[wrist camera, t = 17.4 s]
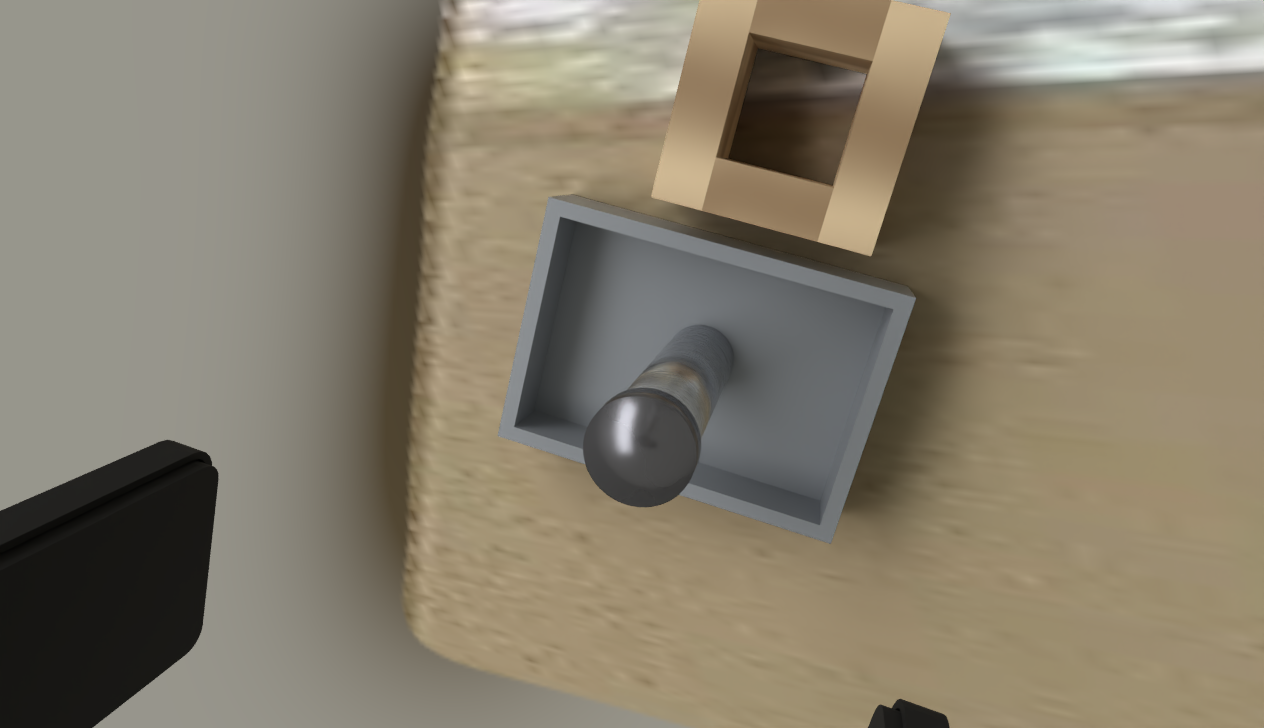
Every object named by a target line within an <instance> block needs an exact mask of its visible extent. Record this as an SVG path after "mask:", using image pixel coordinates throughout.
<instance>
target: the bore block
mask: <svg viewBox="0 0 1264 728" xmlns="http://www.w3.org/2000/svg"><path fill="white" fill-rule="evenodd" d="M950 14H951V13H947V12H942V11H938V10H933V9H929V8H924V7H920V6H915V5H911V4H906V3H902V2H897V1H893V0H699V5H698V9H697V13H696V17H695V21H694V25H693V29H692V33H691V37H690V41H689V45H688V49H687V53H686V57H685V61H684V65H683V69H682V73H681V77H680V81H679V85H678V90H677V94H676V98H675V102H674V106H673V110H672V114H671V118H670V122H669V126H668V130H667V134H666V138H665V142H664V146H663V150H662V154H661V158H660V162H659V166H658V170H657V175H656V179H655V183H654V187H653V191H652V195H651V197H653V198H656V199H660V200H664V201H668V202H671V203H675V204H679V205H682V206H686V207H690V208H694V209H697V210H701V211H705V212H708V213H712V214H716V215H720V216H723V217H727V218H731V219H734V220H738V221H742V222H746V223H749V224H753V225H757V226H760V227H764V228H768V229H772V230H775V231H779V232H783V233H786V234H790V235H794V236H798V237H801V238H805V239H809V240H812V241H816V242H820V243H824V244H827V245H831V246H835V247H839V248H842V249H846V250H850V251H853V252H857V253H861V254H865V255H868V256H872V253H873V250H874V247H875V244H876V241H877V237H878V234H879V231H880V228H881V225H882V222H883V219H884V216H885V213H886V210H887V207H888V204H889V201H890V198H891V195H892V192H893V189H894V186H895V182H896V179H897V176H898V173H899V170H900V167H901V164H902V161H903V158H904V155H905V152H906V149H907V146H908V143H909V140H910V137H911V134H912V130H913V127H914V124H915V121H916V118H917V115H918V112H919V109H920V106H921V103H922V100H923V97H924V94H925V91H926V88H927V85H928V82H929V79H930V75H931V72H932V69H933V66H934V63H935V60H936V57H937V54H938V51H939V48H940V45H941V42H942V39H943V36H944V33H945V30H946V27H947V23H948V20H949V17H950ZM758 48H759V49H763V50H767V51H772V52H776V53H780V54H784V55H789V56H793V57H797V58H801V59H806V60H810V61H814V62H818V63H822V64H827V65H831V66H835V67H839V68H844V69H848V70H852V71H856V72H861V73H865V74H867V75H866V79H865V82H864V85H863V88H862V92H861V95H860V98H859V101H858V105H857V108H856V111H855V114H854V118H853V121H852V124H851V128H850V131H849V134H848V137H847V141H846V144H845V147H844V150H843V154H842V157H841V160H840V163H839V167H838V170H837V173H836V176H835V180H834V183H833V185H830V184H826V183H822V182H818V181H814V180H810V179H806V178H802V177H799V176H795V175H791V174H787V173H783V172H779V171H775V170H771V169H768V168H764V167H760V166H756V165H752V164H748V163H744V162H740V161H737V160H733V159H729V154H730V150H731V147H732V143H733V139H734V135H735V132H736V128H737V124H738V121H739V117H740V113H741V109H742V106H743V102H744V98H745V95H746V91H747V87H748V83H749V80H750V76H751V72H752V69H753V65H754V61H755V57H756V54H757V50H758Z"/></svg>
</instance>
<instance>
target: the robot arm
mask: <svg viewBox="0 0 1264 728" xmlns="http://www.w3.org/2000/svg"><path fill="white" fill-rule="evenodd" d="M217 487H218V471H217V469H216V468H215V467H213V466H212V461H211V458H210V456H209V455H208V454H207V453H206V452H203V451H200V450H197V449H194V448H191V447H189V446H186V445H183V444H180V443H177V442H175V441H171V440H165V441H161V442H158V443H156V444H154V445H151V446H149V447H147V448H144V449H142V450H140V451H137V452H136V453H133V454H131V455H128V456H126V457H124V458H121V459H119V460H117V461H115V462H112V463H110V464H108V465H105V466H103V467H101V468H98V469H96V470H94V471H91V472H89V473H87V474H84V475H82V476H80V477H78V478H75V479H73V480H71V481H68V482H66V483H64V484H62V485H59V486H57V487H54V488H52V489H50V490H48V491H46V492H43V493H41V494H38V495H36V496H34V497H31V498H29V499H27V500H24V501H22V502H20V503H18V504H15V505H13V506H11V507H8V508H6V509H4V510H1V511H0V728H92V727H94V726H95V725H96V724H98V723H99V722H100V721H101V720H103V719H104V718H105V717H107V716H108V715H109V714H110V713H111V712H113V711H114V710H115V709H117V708H118V707H119V706H121V705H122V704H123V703H124V702H126V701H127V700H128V699H129V698H131V697H132V696H133V695H135V694H136V693H137V692H139V691H140V690H141V689H142V688H144V687H145V686H146V685H148V684H149V683H150V682H151V681H153V680H154V679H155V678H156V677H158V676H159V675H160V674H162V673H163V672H164V671H165V670H167V669H168V668H169V667H171V666H172V665H173V664H174V663H175V662H177V661H178V660H179V659H181V658H182V657H183V656H185V655H186V654H187V653H188V652H189V651H190V650H191V649H192V647H193V646H194V644H195V643H196V642H197V640H198V638H199V635H200V633H201V630H202V625H203V616H204V607H205V598H206V589H207V579H208V570H209V561H210V551H211V543H212V533H213V524H214V515H215V506H216V496H217ZM868 728H949V723H948V720H947V717H946V716H945V715H944V714H942V713H939V712H936V711H933V710H930V709H928V708H925V707H922V706H919V705H916V704H913V703H911V702H908V701H905V700H902V699H899V700H897V701H896V702H895V704H894V705H893V707H892V708H889V707H886V706H883V705H879V706H878V707H877V708H876V710H875V712H874V714H873V717H872V719H871V722H870V724H869V726H868Z"/></svg>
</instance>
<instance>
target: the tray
mask: <svg viewBox="0 0 1264 728" xmlns="http://www.w3.org/2000/svg"><path fill="white" fill-rule="evenodd" d="M915 300H916V297H915V296H914V294H913V293H912V291H911V290H910V289H909V287H908V286H905V285H902V284H898V283H894V282H891V281H887V280H883V279H880V278H876V277H872V276H869V275H865V274H861V273H858V272H854V271H850V270H847V269H843V268H839V267H836V266H832V265H828V264H825V263H821V262H817V261H814V260H810V259H806V258H803V257H799V256H796V255H792V254H788V253H785V252H781V251H777V250H774V249H770V248H766V247H763V246H759V245H755V244H752V243H748V242H744V241H741V240H737V239H733V238H730V237H726V236H722V235H719V234H715V233H711V232H708V231H704V230H700V229H697V228H693V227H689V226H686V225H682V224H678V223H675V222H671V221H667V220H664V219H660V218H656V217H653V216H649V215H645V214H642V213H638V212H634V211H631V210H627V209H623V208H620V207H616V206H613V205H609V204H605V203H602V202H598V201H594V200H591V199H587V198H583V197H580V196H576V195H563V196H554V197H549V198H548V203H547V207H546V212H545V217H544V221H543V226H542V231H541V235H540V240H539V245H538V250H537V254H536V259H535V264H534V268H533V273H532V278H531V282H530V287H529V292H528V296H527V301H526V306H525V310H524V315H523V320H522V325H521V329H520V334H519V339H518V343H517V348H516V353H515V357H514V362H513V367H512V371H511V376H510V381H509V385H508V390H507V395H506V399H505V404H504V409H503V414H502V418H501V423H500V428H499V432H498V436H500V437H503V438H506V439H509V440H512V441H515V442H518V443H521V444H524V445H527V446H530V447H534V448H537V449H540V450H543V451H546V452H549V453H552V454H555V455H558V456H561V457H564V458H567V459H570V460H574V461H577V462H580V463H583V464H585V461H584V456H583V440H584V435H585V432H586V429H587V427H588V425H589V423H590V421H591V420H592V418H593V417H594V415H595V414H596V413H597V412H598V411H599V410H600V409H601V408H602V407H603V406H604V404H605V403H606V402H607V401H609V400H610V399H611V398H612V397H614V396H615V395H617V394H618V393H621V392H623V391H626V390H627V389H628V388H629V387H630V386H631V384H632V383H633V382H634V381H635V380H636V379H637V378H638V377H639V375H640V374H641V373H642V372H643V371H644V370H645V369H646V367H647V366H648V365H649V364H650V363H651V362H652V361H653V360H654V358H655V357H656V356H657V355H658V354H659V353H660V352H661V350H662V349H663V348H664V347H665V346H666V345H667V344H668V343H669V341H670V340H671V339H672V338H673V337H674V336H675V335H676V334H677V333H678V332H679V331H680V330H682V329H684V328H686V327H688V326H692V325H707V326H710V327H713V328H715V329H717V330H719V331H720V332H721V333H722V334H724V335H725V337H726V338H727V339H728V341H729V342H730V344H731V346H732V349H733V353H734V364H733V369H732V371H731V374H730V376H729V378H728V380H727V382H726V385H725V387H724V389H723V391H722V394H721V396H720V398H719V400H718V402H717V405H716V407H715V409H714V411H713V414H712V416H711V418H710V420H709V422H708V425H707V427H706V429H705V431H704V433H703V436H702V438H701V454H700V458H699V461H698V464H697V466H696V469H695V471H694V473H693V476H692V478H691V480H690V482H689V483H688V485H687V486H686V487H685V489H684V490H683V491H682V492H681V493H680V494H679V495H681V496H685V497H688V498H691V499H694V500H697V501H700V502H703V503H706V504H709V505H712V506H715V507H718V508H722V509H725V510H728V511H731V512H734V513H737V514H740V515H743V516H746V517H749V518H752V519H755V520H759V521H762V522H765V523H768V524H771V525H774V526H777V527H780V528H783V529H786V530H789V531H792V532H796V533H799V534H802V535H805V536H808V537H811V538H814V539H817V540H820V541H823V542H826V543H829V544H831V541H832V539H833V536H834V533H835V530H836V527H837V524H838V521H839V518H840V516H841V513H842V510H843V507H844V504H845V501H846V498H847V495H848V493H849V490H850V487H851V484H852V481H853V478H854V475H855V472H856V470H857V467H858V464H859V461H860V458H861V455H862V452H863V449H864V447H865V444H866V441H867V438H868V435H869V432H870V429H871V426H872V424H873V421H874V418H875V415H876V412H877V409H878V406H879V403H880V401H881V398H882V395H883V392H884V389H885V386H886V383H887V380H888V378H889V375H890V372H891V369H892V366H893V363H894V360H895V357H896V355H897V352H898V349H899V346H900V343H901V340H902V337H903V334H904V332H905V329H906V326H907V323H908V320H909V317H910V314H911V311H912V309H913V306H914V303H915Z"/></svg>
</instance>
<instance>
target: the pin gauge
mask: <svg viewBox="0 0 1264 728" xmlns="http://www.w3.org/2000/svg"><path fill="white" fill-rule="evenodd" d="M733 364H734V353H733V349H732V346H731V344H730V342H729V341H728V339H727V338H726V337H725V335H724V334H722V333H721V332H720V331H719V330H717V329H715V328H713V327H710V326H707V325H692V326H688V327H686V328H684V329H682V330H680V331H679V332H678V333H677V334H676V335H675V336H674V337H673V338H672V339H671V340H670V341H669V343H668V344H667V345H666V346H665V347H664V348H663V349H662V350H661V352H660V353H659V354H658V355H657V356H656V357H655V358H654V360H653V361H652V362H651V363H650V364H649V365H648V366H647V367H646V369H645V370H644V371H643V372H642V373H641V374H640V375H639V377H638V378H637V379H636V380H635V381H634V382H633V383H632V384H631V386H630V387H629V388H628V389H627V390H626V391H623V392H621V393H618V394H617V395H615V396H614V397H612V398H611V399H610V400H609V401H607V402H606V403H605V404H604V406H603V407H602V408H601V409H600V410H599V411H598V412H597V413H596V414H595V415H594V417H593V418H592V420H591V421H590V423H589V425H588V427H587V429H586V432H585V435H584V440H583V456H584V461H585V464H586V467H587V470H588V472H589V474H590V476H591V478H592V479H593V481H594V482H595V483H596V484H597V486H598V487H599V488H600V489H601V490H602V491H603V492H604V493H606V494H607V495H608V496H610V497H611V498H613V499H615V500H617V501H618V502H621V503H624V504H626V505H630V506H636V507H652V506H657V505H661V504H664V503H666V502H668V501H670V500H672V499H674V498H675V497H676V496H678V495H679V494H680V493H681V492H682V491H683V490H684V489H685V487H686V486H687V485H688V483H689V482H690V480H691V478H692V476H693V473H694V471H695V469H696V466H697V464H698V461H699V458H700V454H701V438H702V436H703V433H704V431H705V429H706V427H707V425H708V422H709V420H710V418H711V416H712V414H713V411H714V409H715V407H716V405H717V402H718V400H719V398H720V396H721V394H722V391H723V389H724V387H725V385H726V382H727V380H728V378H729V376H730V374H731V371H732V369H733Z"/></svg>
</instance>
